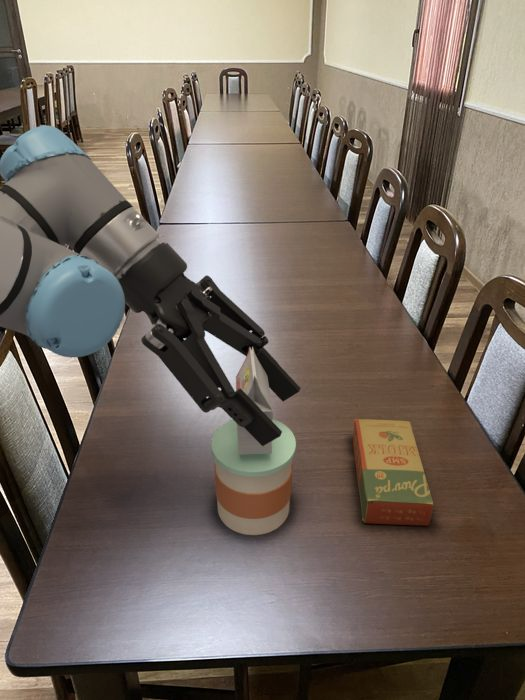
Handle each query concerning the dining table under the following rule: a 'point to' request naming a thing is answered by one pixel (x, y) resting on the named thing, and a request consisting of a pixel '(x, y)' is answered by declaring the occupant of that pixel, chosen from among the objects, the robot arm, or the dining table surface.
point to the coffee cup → (252, 481)
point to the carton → (390, 474)
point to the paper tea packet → (258, 391)
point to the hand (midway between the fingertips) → (282, 415)
